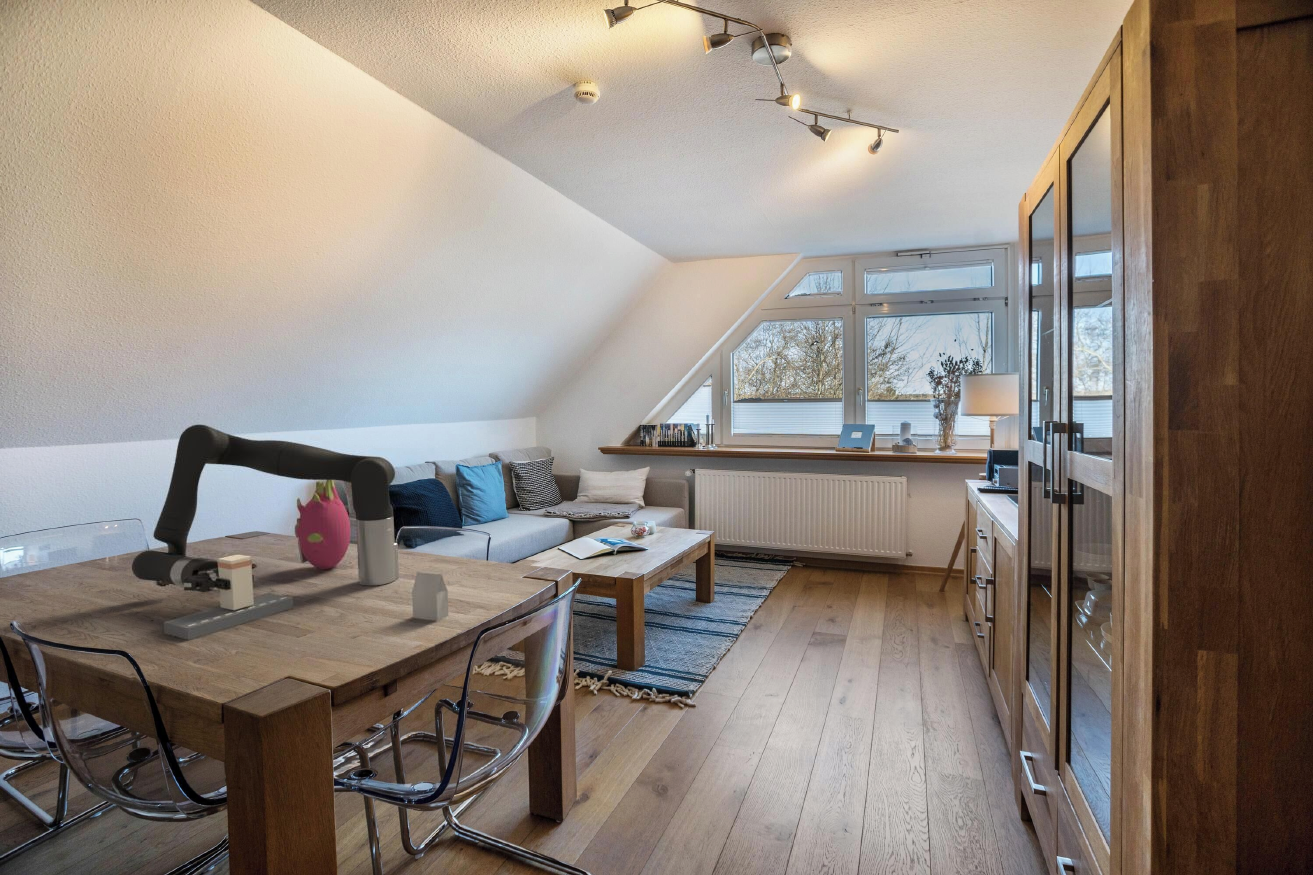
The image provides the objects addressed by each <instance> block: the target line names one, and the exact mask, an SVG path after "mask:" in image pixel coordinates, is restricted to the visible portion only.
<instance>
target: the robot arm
mask: <svg viewBox="0 0 1313 875" xmlns="http://www.w3.org/2000/svg"><path fill="white" fill-rule="evenodd" d="M176 447H177V449H176V454H175V460H174V465H173V471H172V474H171V479H170V484H169V488H168V491H167V495H166V498H165V501H164V505H163V507H162V510H161V513H160V515H159V518H158V520H157V523H156V525H155V528H154V531H153V534H152V536H153V538H154V539H155V540H156V541H159V542H161V543H164V544H166V545H167V551H166V552H165V551H157V550H152V549H151V550H145V551H142V552H140V553H139V554H137V555H136V556H135V557H134V559H133V561H132V564H131V571H132V573H133V575H134V577H136V578H138V579H139V580H142V581H143V580H144V581H152V582H157V581H160V582H166V583H169V584H171V586H172V585H173V586H178V587H179V588H183V590H184V591H191V592H192V591H194V592H199V593H208V592H212V591H213V590H220V589H223V590H230V589H231V583H230V580H228V579H223V578H219V571H218V560H215V559H212V558H211V559H210V558H206V557H199V556H187V555H186V554H187V543H188V537H189V533H190V532H191V527H192V525H193V522H194V519H195V517H196V513H197V507H198V492H199V491H198V490H199V483H200V479H201V475H202V473H203V470H204V468H205V467H206V464H207V465H222V466H223V465H225V466H234V467H235V466H236V467H242V468H249V469H252V470H256V471H259V472H262V473H265V474H270V475H273V476H277V477H278V476H279V477H284V478H290V479H294V480H295V479H297V480H309V481H312V480H314V481H327V480H333V481H341V482H346V483H350V486H351V499H352V507H353V510H354V512H355V526H356V548H357V571H358V574H357V575H358V584H359V585H361V586H379V585H381V586H382V585H385V584H389V583H393V582H394V581H396V580H397V579H400V572H399V570H400V569H399V546H398V543H397V542H395V526H394V525H395V524H394V507H393V506H392V504H391V501H390V492H389V491H390V489H389V488H390V487H389V486H390V485H391V484H392V483H393V481H394V480H395V477H396V471H395V468H394V465H393V464H392V463H391V462H390V461H389V460H388V459H386V458H384V457H381V456H371V455H370V456H369V455H359V454H358V455H357V454H347V453H342V452H341V453H340V452H337V451H334V450H331V449H326V448H321V447H317V446H312V445H307V444H304V443H298V442H292V441H288V440H286V441H285V440H269V439H267V440H266V439H265V440H258V439H257V440H255V439H248V438H245V437H244V438H243V437H240V436H236V435H232V434H229V433H227V432H224V431H222V430H219V429H216V428H213V427H212V426H208V425H205V424H192V425H191V426H189V427H187V428H185V430H183V431H182V433H181V434H180V436H179V439H178V444H177V446H176ZM254 582H255V575H254V574H252V583H253V584H254Z"/></svg>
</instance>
